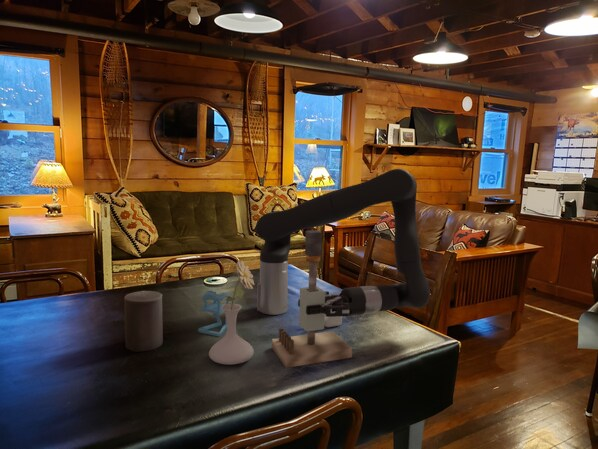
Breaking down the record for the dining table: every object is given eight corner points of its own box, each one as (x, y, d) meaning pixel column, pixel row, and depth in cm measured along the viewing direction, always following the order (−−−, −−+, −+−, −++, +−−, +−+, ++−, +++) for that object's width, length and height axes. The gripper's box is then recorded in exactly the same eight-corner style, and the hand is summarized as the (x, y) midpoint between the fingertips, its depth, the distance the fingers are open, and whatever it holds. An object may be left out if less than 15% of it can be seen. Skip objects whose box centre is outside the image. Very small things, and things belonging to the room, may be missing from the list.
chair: (235, 327, 135) (235, 288, 133) (219, 336, 127) (219, 296, 125) (214, 322, 138) (214, 285, 136) (197, 332, 130) (197, 292, 129)
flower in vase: (234, 373, 106) (233, 271, 102) (199, 361, 112) (197, 264, 108) (266, 353, 117) (267, 260, 113) (233, 343, 123) (232, 254, 119)
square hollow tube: (306, 331, 114) (306, 293, 112) (299, 324, 118) (299, 288, 117) (324, 329, 116) (325, 291, 114) (316, 322, 120) (317, 286, 119)
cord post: (286, 367, 109) (287, 237, 104) (271, 347, 121) (272, 229, 116) (351, 357, 116) (356, 234, 111) (332, 339, 127) (335, 226, 122)
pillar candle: (127, 354, 115) (126, 298, 113) (123, 340, 123) (121, 288, 121) (166, 348, 119) (165, 294, 117) (159, 335, 128) (158, 284, 126)
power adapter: (311, 331, 132) (311, 313, 131) (303, 326, 136) (304, 307, 135) (343, 326, 137) (344, 307, 136) (335, 320, 141) (336, 303, 140)
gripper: (349, 280, 127) (293, 285, 121) (374, 295, 114) (313, 301, 108) (348, 305, 128) (292, 311, 122) (373, 323, 115) (312, 331, 109)
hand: (302, 306), depth 115 cm, fingers closed on square hollow tube, 5 cm apart
